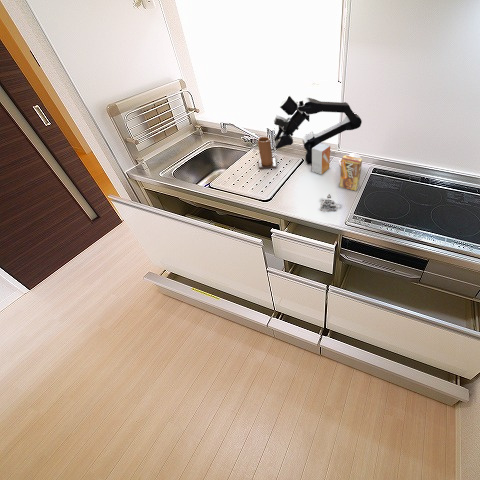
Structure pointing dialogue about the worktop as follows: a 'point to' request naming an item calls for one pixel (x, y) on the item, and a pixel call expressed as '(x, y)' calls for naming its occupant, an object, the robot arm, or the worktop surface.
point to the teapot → (328, 205)
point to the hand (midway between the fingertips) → (275, 144)
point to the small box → (320, 158)
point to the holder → (267, 165)
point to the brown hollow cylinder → (265, 150)
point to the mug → (351, 156)
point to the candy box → (350, 172)
